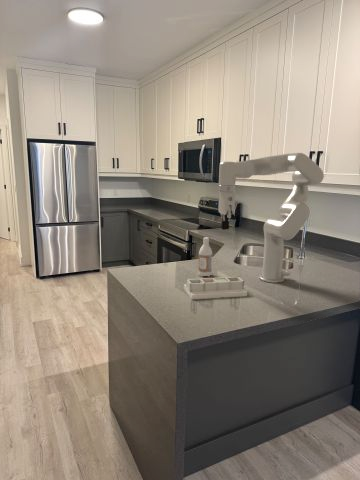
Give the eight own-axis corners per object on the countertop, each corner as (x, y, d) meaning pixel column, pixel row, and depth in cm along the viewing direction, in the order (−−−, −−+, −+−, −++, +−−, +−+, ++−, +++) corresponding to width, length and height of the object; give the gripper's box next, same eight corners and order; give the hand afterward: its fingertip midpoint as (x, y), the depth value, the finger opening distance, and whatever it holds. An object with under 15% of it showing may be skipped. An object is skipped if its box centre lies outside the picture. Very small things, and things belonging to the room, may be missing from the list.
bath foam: (196, 275, 171) (197, 238, 167) (201, 272, 177) (203, 236, 173) (208, 277, 168) (209, 239, 164) (213, 274, 173) (215, 237, 170)
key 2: (224, 282, 150) (224, 279, 149) (227, 285, 145) (227, 282, 145) (215, 283, 149) (215, 279, 148) (218, 286, 145) (218, 282, 144)
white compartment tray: (234, 285, 156) (235, 274, 155) (246, 296, 143) (247, 283, 142) (184, 288, 151) (184, 276, 150) (191, 299, 138) (192, 286, 137)
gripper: (240, 190, 143) (238, 231, 146) (228, 188, 157) (226, 226, 160) (224, 190, 141) (222, 232, 144) (213, 188, 155) (212, 226, 159)
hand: (224, 229), depth 152 cm, fingers closed
